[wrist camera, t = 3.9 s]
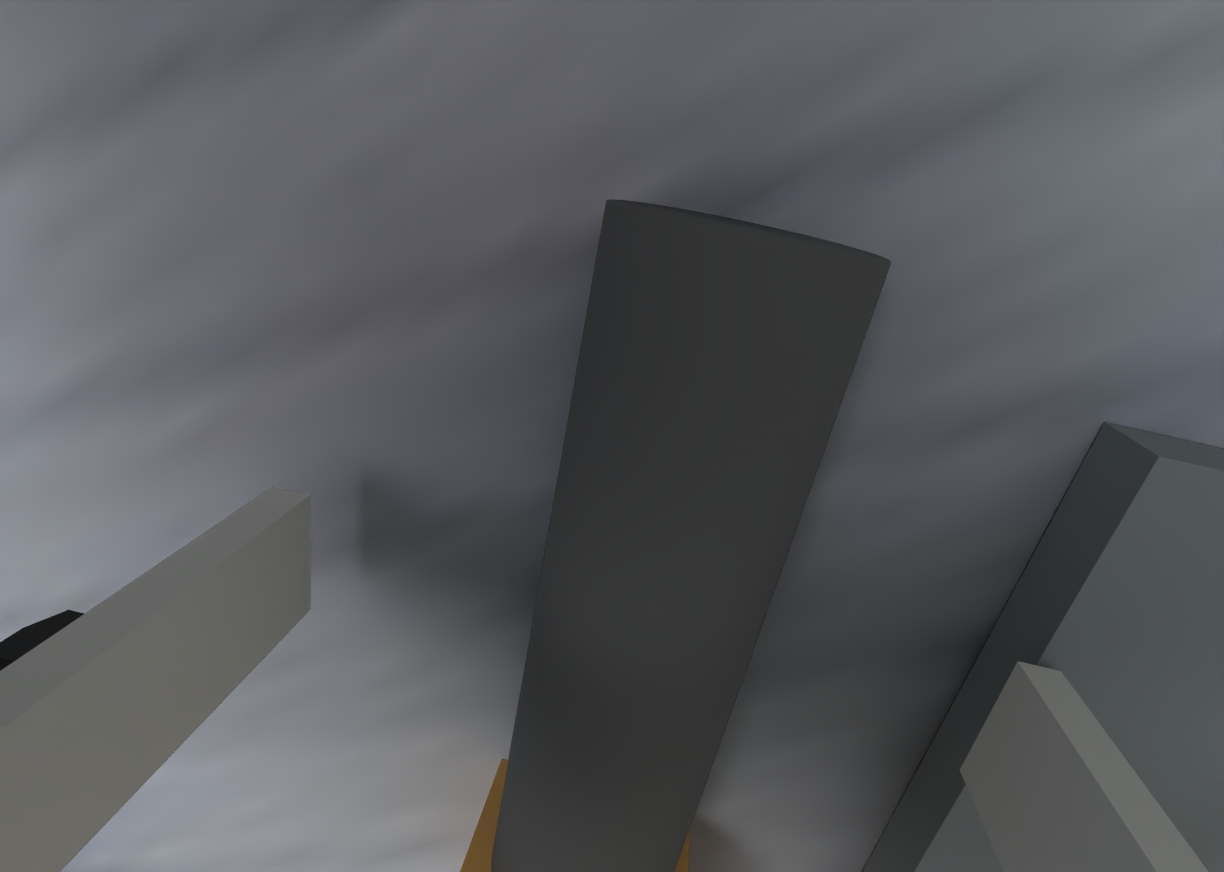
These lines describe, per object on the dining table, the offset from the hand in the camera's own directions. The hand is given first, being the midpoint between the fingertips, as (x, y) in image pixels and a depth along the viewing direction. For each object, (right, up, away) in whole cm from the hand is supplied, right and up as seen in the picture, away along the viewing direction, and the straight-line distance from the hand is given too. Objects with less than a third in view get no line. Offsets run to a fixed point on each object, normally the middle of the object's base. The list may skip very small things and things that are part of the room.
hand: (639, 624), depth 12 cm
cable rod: (0, -1, +2) cm, 2 cm away
